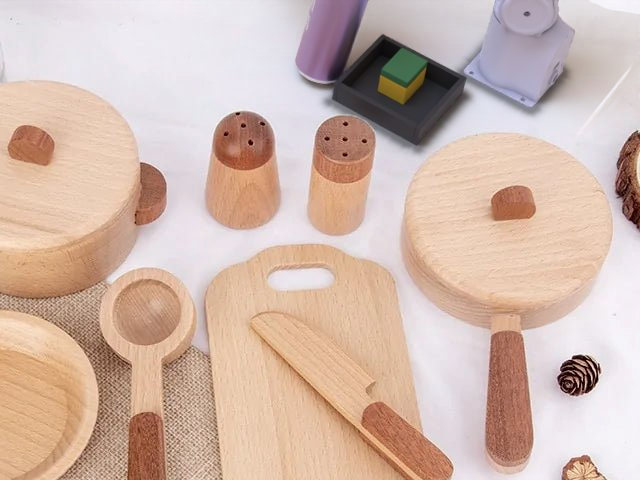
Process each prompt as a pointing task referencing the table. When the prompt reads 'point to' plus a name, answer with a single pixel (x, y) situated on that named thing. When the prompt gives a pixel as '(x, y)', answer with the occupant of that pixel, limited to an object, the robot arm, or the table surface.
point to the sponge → (402, 75)
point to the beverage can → (329, 38)
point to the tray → (401, 119)
